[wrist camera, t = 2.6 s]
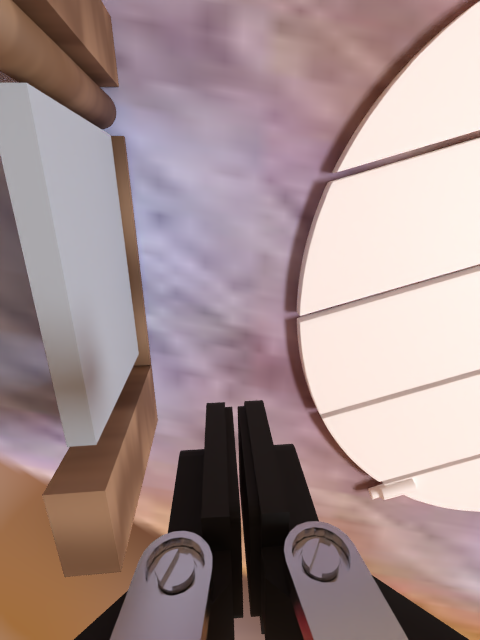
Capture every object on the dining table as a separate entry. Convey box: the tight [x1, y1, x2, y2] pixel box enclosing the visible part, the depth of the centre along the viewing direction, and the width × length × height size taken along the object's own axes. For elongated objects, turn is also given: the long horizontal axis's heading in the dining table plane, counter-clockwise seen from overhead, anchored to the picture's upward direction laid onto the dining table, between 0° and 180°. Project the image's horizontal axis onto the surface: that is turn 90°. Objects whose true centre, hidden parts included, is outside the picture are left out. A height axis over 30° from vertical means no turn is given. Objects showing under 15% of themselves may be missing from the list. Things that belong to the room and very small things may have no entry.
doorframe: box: [0, 0, 158, 577], centre depth 16 cm, size 24×2×11 cm, turn 1°
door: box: [0, 83, 139, 447], centre depth 16 cm, size 13×2×9 cm, turn 1°
